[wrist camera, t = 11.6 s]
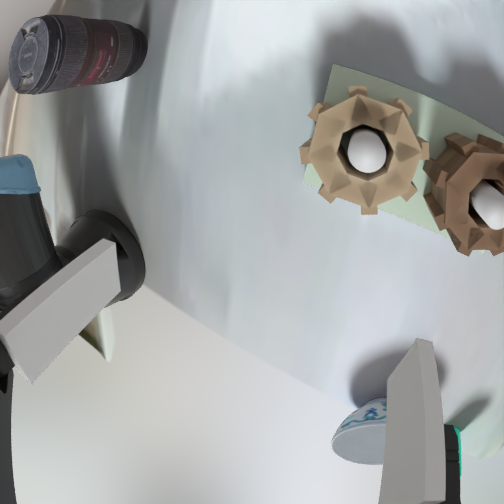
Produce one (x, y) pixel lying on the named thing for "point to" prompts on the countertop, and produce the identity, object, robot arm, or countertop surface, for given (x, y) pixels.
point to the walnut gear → (465, 190)
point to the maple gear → (337, 161)
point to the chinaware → (363, 434)
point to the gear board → (424, 125)
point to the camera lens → (73, 53)
